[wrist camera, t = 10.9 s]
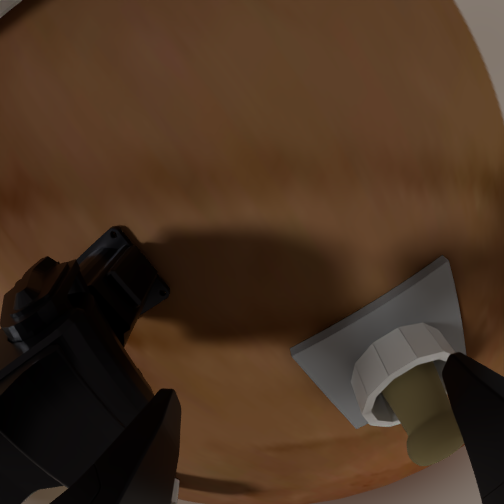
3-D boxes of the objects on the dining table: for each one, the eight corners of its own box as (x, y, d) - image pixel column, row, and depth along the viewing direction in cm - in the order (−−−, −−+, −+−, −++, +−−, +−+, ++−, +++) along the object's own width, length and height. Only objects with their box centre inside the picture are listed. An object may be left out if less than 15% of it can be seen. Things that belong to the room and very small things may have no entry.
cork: (435, 354, 24) (485, 435, 14) (390, 391, 26) (425, 477, 16) (410, 328, 22) (469, 424, 12) (359, 371, 24) (396, 473, 14)
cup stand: (354, 422, 29) (364, 455, 25) (290, 348, 24) (298, 393, 19) (463, 358, 26) (483, 386, 22) (442, 255, 21) (476, 284, 16)
